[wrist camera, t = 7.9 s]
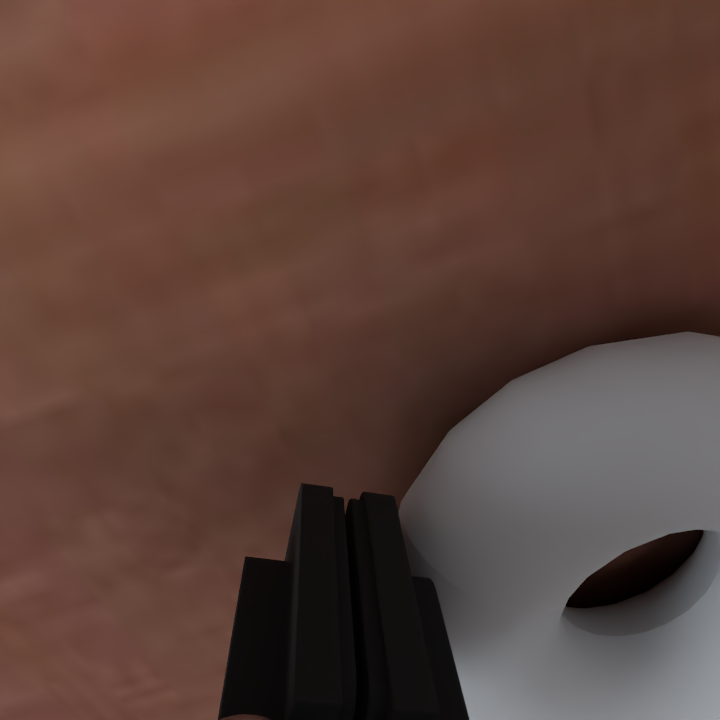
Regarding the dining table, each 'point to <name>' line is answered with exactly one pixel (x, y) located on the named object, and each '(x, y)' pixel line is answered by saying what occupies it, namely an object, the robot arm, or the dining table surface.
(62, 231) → the dining table surface
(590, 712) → the donut
